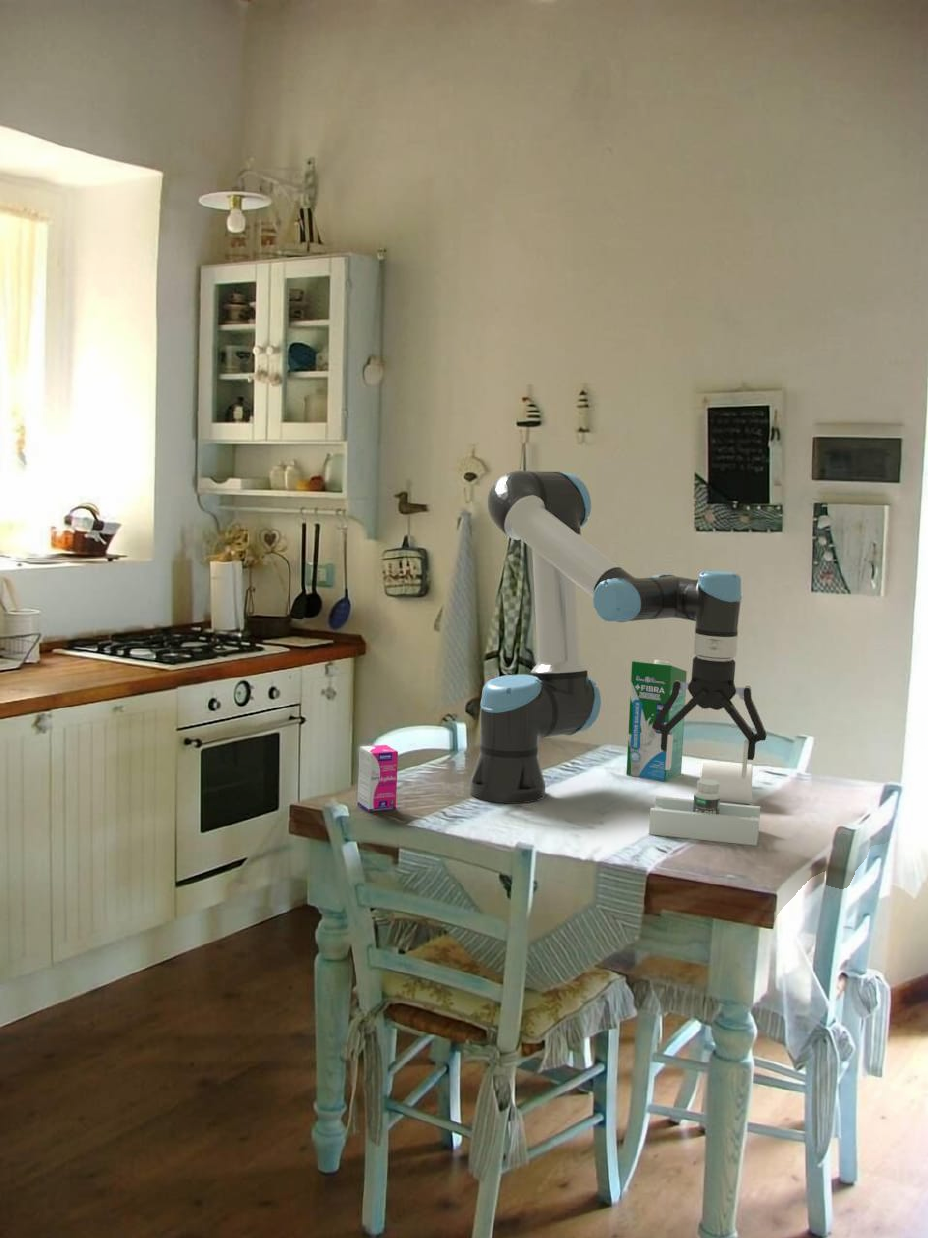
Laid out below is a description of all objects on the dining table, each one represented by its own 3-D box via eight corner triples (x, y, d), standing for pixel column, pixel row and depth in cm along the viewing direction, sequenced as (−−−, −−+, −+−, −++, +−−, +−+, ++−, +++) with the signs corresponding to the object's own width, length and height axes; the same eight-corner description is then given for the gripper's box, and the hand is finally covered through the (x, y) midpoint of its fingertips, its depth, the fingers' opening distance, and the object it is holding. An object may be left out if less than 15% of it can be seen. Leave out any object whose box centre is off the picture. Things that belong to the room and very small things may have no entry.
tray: (648, 834, 223) (650, 809, 223) (655, 819, 233) (656, 796, 232) (756, 845, 218) (758, 821, 218) (758, 830, 228) (760, 806, 227)
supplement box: (368, 812, 231) (370, 752, 230) (356, 804, 237) (358, 746, 235) (397, 809, 234) (398, 750, 233) (384, 801, 239) (386, 743, 238)
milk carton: (681, 773, 269) (687, 660, 266) (664, 781, 262) (671, 665, 259) (643, 767, 274) (649, 655, 271) (626, 774, 267) (631, 660, 264)
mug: (750, 809, 243) (753, 769, 242) (699, 804, 245) (701, 765, 244) (749, 793, 254) (751, 756, 253) (700, 790, 256) (702, 752, 255)
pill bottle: (689, 828, 224) (692, 783, 223) (694, 822, 228) (697, 777, 227) (716, 832, 222) (718, 786, 221) (720, 825, 227) (723, 780, 226)
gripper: (642, 654, 221) (634, 769, 224) (785, 667, 215) (775, 785, 218) (647, 648, 228) (639, 760, 231) (786, 660, 222) (776, 775, 225)
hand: (705, 772), depth 225 cm, fingers open, 13 cm apart
